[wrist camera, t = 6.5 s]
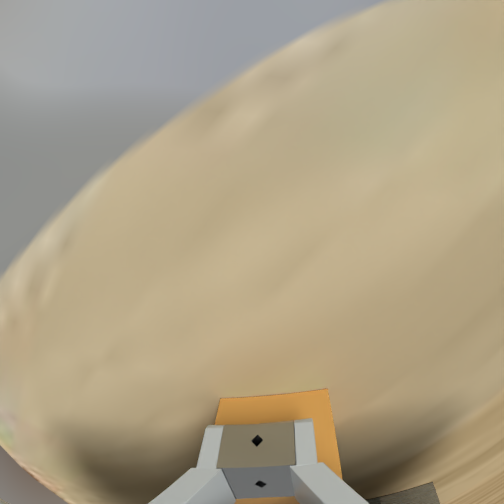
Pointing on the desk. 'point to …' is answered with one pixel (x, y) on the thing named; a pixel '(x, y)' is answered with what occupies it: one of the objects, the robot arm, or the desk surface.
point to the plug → (286, 410)
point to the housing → (410, 496)
